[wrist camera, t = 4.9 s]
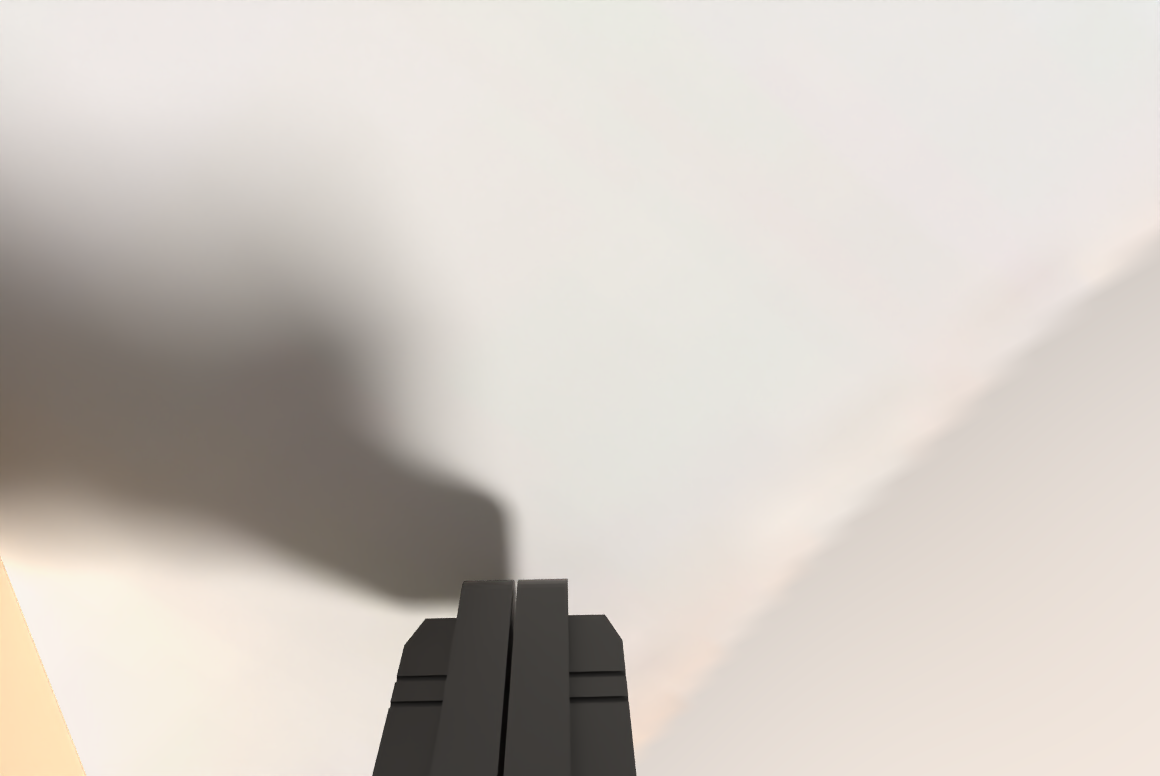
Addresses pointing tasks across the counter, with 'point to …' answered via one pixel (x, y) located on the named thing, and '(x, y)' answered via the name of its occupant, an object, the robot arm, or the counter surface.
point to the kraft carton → (28, 702)
